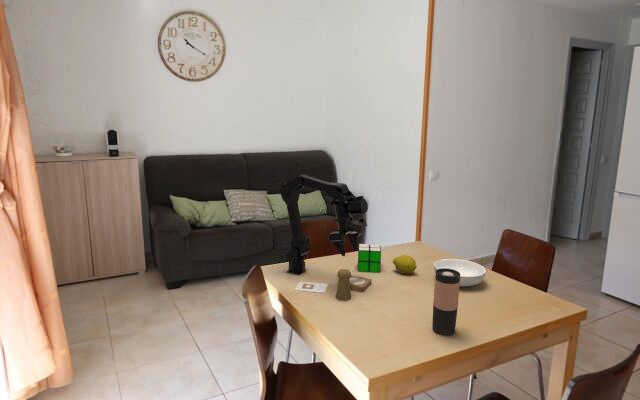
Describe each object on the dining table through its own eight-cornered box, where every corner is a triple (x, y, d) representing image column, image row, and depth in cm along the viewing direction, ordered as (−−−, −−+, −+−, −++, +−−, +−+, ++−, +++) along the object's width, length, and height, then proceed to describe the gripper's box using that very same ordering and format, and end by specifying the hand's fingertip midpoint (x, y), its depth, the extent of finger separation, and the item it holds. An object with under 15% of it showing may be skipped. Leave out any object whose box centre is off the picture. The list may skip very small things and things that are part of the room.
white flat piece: (294, 290, 174) (294, 289, 174) (299, 282, 182) (299, 281, 182) (324, 293, 172) (324, 292, 172) (328, 284, 180) (328, 283, 180)
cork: (353, 295, 170) (354, 268, 168) (349, 301, 164) (349, 273, 162) (338, 293, 172) (338, 266, 170) (333, 299, 166) (334, 271, 164)
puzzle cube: (379, 265, 205) (380, 244, 203) (380, 273, 195) (381, 251, 193) (357, 264, 205) (358, 243, 204) (357, 271, 196) (358, 250, 194)
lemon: (419, 273, 195) (421, 256, 193) (411, 278, 189) (412, 260, 187) (398, 267, 202) (399, 251, 200) (389, 272, 196) (390, 255, 194)
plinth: (339, 287, 177) (339, 282, 177) (348, 279, 186) (348, 274, 186) (363, 292, 173) (363, 287, 173) (371, 283, 182) (371, 278, 182)
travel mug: (428, 325, 147) (432, 268, 143) (450, 324, 148) (455, 268, 144) (436, 336, 140) (440, 276, 136) (459, 335, 141) (464, 276, 137)
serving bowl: (429, 287, 180) (430, 271, 179) (436, 270, 199) (437, 256, 198) (483, 295, 172) (485, 279, 171) (485, 277, 191) (486, 262, 190)
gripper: (348, 217, 164) (355, 258, 165) (372, 209, 179) (378, 246, 180) (324, 220, 170) (330, 259, 171) (348, 211, 185) (354, 247, 186)
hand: (349, 253), depth 177 cm, fingers open, 9 cm apart
